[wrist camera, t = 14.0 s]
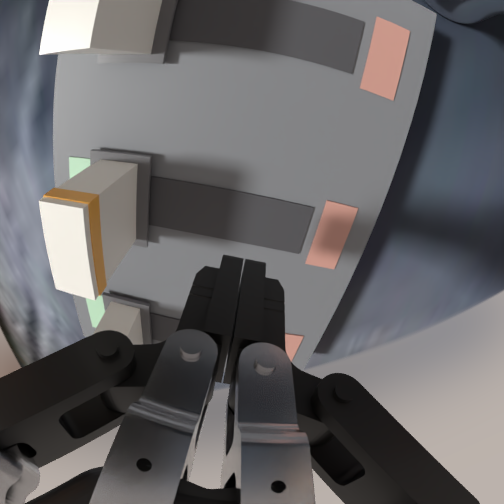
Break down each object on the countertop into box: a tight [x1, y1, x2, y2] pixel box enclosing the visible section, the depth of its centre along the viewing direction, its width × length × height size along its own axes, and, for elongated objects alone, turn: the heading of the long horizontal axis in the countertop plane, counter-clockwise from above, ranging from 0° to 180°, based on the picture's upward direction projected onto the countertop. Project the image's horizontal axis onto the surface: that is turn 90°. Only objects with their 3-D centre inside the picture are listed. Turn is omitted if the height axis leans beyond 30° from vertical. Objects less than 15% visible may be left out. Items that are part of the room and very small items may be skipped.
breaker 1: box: [39, 0, 178, 64], centre depth 7 cm, size 3×5×5 cm
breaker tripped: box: [39, 149, 152, 301], centre depth 11 cm, size 3×5×5 cm
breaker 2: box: [93, 292, 152, 345], centre depth 16 cm, size 3×5×5 cm
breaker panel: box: [53, 0, 437, 371], centre depth 15 cm, size 17×25×3 cm
